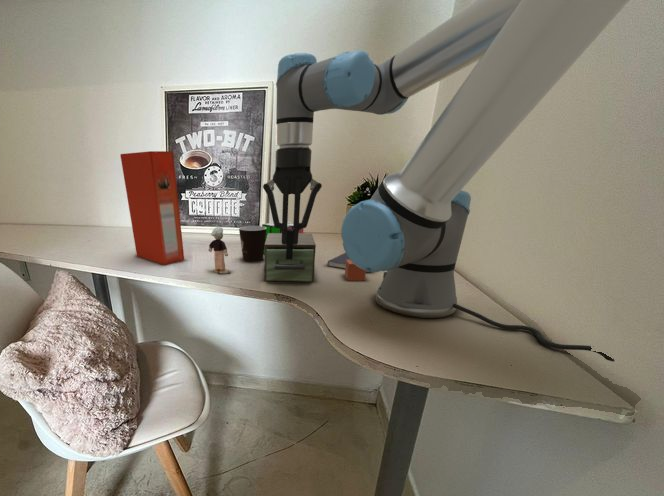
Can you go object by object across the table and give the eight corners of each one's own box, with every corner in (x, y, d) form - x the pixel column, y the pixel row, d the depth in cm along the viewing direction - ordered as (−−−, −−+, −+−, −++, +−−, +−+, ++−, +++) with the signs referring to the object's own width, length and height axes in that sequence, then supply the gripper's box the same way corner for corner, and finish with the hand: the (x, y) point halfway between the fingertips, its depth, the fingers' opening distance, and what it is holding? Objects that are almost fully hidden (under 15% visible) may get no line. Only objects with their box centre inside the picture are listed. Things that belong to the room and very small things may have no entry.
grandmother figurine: (234, 271, 96) (233, 226, 91) (226, 275, 93) (224, 228, 88) (213, 268, 100) (210, 224, 94) (205, 271, 97) (202, 226, 92)
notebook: (355, 252, 114) (327, 266, 99) (355, 247, 114) (327, 260, 98) (393, 257, 107) (369, 273, 92) (394, 252, 106) (370, 267, 91)
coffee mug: (264, 263, 103) (264, 230, 99) (237, 262, 105) (236, 230, 101) (269, 254, 113) (269, 224, 109) (244, 254, 115) (243, 224, 111)
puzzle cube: (302, 254, 113) (304, 224, 108) (280, 259, 107) (280, 227, 103) (283, 249, 120) (284, 221, 116) (261, 253, 115) (261, 224, 111)
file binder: (162, 265, 104) (148, 151, 91) (136, 256, 115) (120, 153, 102) (184, 260, 109) (173, 151, 96) (156, 252, 120) (143, 153, 107)
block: (364, 280, 86) (366, 264, 84) (347, 280, 87) (348, 263, 85) (361, 275, 90) (363, 259, 88) (344, 275, 90) (346, 259, 89)
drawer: (313, 288, 79) (315, 255, 76) (265, 287, 80) (265, 255, 77) (308, 265, 97) (310, 238, 94) (269, 265, 98) (269, 238, 95)
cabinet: (313, 281, 86) (315, 244, 82) (264, 281, 87) (264, 244, 84) (309, 265, 100) (311, 233, 96) (267, 265, 102) (268, 233, 98)
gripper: (323, 147, 73) (315, 254, 82) (263, 149, 74) (262, 253, 84) (327, 146, 66) (318, 262, 75) (261, 147, 67) (260, 261, 77)
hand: (289, 257), depth 80 cm, fingers closed
